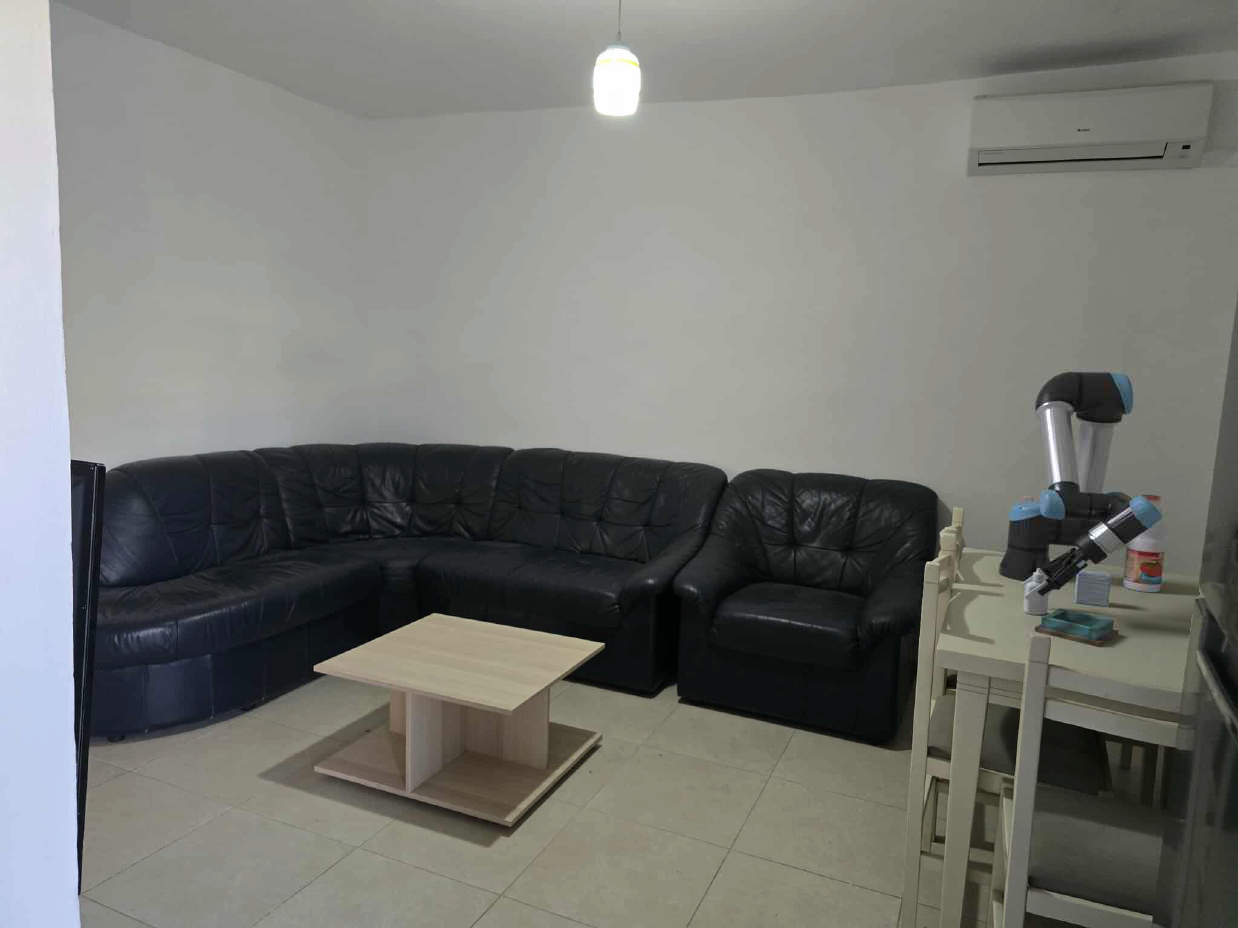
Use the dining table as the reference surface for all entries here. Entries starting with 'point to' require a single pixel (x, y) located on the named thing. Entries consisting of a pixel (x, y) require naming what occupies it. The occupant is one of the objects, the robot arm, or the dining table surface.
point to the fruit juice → (1146, 556)
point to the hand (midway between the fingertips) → (1025, 594)
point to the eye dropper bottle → (1040, 605)
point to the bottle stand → (1077, 627)
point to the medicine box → (1092, 588)
